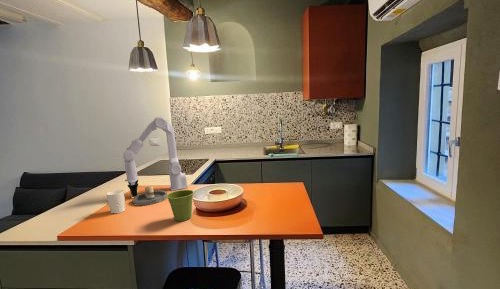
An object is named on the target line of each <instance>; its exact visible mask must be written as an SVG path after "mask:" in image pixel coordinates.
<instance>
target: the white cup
mask: <svg viewBox="0 0 500 289" xmlns="http://www.w3.org/2000/svg"><path fill="white" fill-rule="evenodd" d="M105 195H106V199H107V203H108V207H109V210H110V214H112V213H117V214H120V213H123V212H125V211H126V210H125V209H126V201H125V200H126V199H125V191H124V189H115V190H111V191H108V192H106V194H105Z"/></svg>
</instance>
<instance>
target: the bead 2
mask: <svg viewBox="0 0 500 289" xmlns="http://www.w3.org/2000/svg"><path fill="white" fill-rule="evenodd" d="M154 191H155V190H154V187H153V185H152V186H151V185H150V186H146V187H145V188H144V193H146V196H148V195H152V194H153V195H154Z"/></svg>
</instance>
